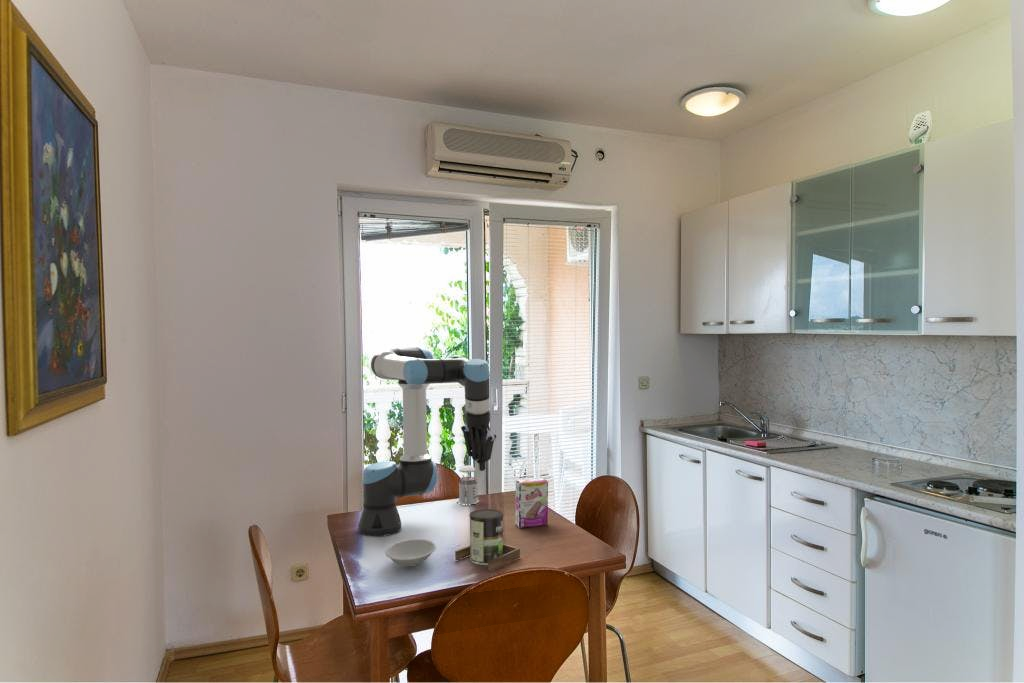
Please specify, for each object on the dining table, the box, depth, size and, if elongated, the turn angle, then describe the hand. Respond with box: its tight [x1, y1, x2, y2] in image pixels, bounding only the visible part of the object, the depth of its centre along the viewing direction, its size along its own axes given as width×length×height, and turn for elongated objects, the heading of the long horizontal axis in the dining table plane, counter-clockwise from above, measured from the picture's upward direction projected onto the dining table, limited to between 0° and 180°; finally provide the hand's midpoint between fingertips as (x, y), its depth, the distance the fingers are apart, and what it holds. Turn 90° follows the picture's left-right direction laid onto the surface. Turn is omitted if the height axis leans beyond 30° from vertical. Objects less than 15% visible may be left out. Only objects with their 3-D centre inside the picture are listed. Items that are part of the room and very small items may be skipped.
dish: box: [385, 538, 437, 567], centre depth 174 cm, size 18×14×5 cm
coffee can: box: [469, 508, 504, 566], centre depth 179 cm, size 10×10×14 cm
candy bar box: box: [514, 478, 549, 529], centre depth 212 cm, size 11×5×16 cm, turn 108°
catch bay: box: [454, 543, 521, 573], centre depth 179 cm, size 14×14×3 cm
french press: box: [457, 454, 480, 506], centre depth 242 cm, size 10×12×25 cm
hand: (479, 478), depth 185 cm, fingers closed
